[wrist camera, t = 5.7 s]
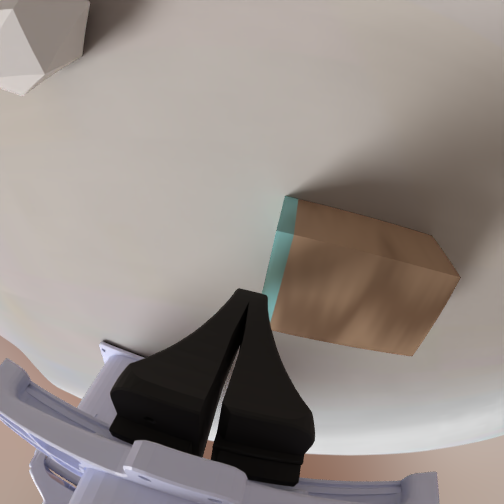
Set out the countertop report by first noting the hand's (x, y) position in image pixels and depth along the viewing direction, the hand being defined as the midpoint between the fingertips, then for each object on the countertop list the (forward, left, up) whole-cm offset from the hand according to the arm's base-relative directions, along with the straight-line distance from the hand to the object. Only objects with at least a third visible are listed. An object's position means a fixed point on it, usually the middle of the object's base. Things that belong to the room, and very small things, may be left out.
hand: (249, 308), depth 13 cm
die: (+13, +17, -7) cm, 23 cm away
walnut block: (0, 0, -5) cm, 5 cm away
